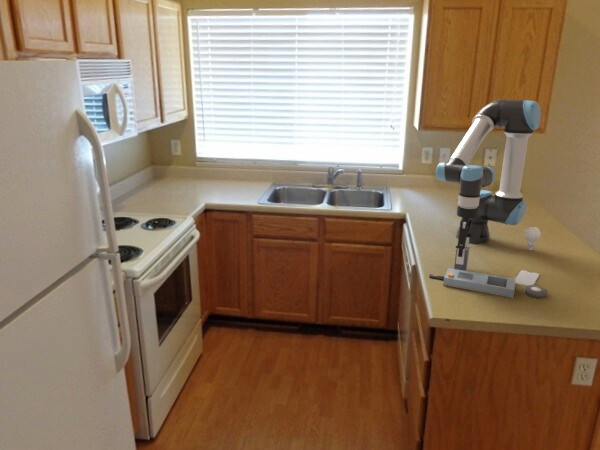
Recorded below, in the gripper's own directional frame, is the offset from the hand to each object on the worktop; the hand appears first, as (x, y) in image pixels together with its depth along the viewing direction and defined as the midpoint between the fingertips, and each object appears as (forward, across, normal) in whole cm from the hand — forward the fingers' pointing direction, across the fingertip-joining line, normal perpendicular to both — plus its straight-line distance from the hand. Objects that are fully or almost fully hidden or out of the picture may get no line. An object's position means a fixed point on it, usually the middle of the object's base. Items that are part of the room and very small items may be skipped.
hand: (461, 258), depth 183 cm
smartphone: (+6, -4, +24) cm, 25 cm away
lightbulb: (+6, -38, +25) cm, 46 cm away
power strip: (+6, +11, +5) cm, 13 cm away
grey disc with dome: (+6, +9, +27) cm, 29 cm away
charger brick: (+6, 0, 0) cm, 6 cm away
